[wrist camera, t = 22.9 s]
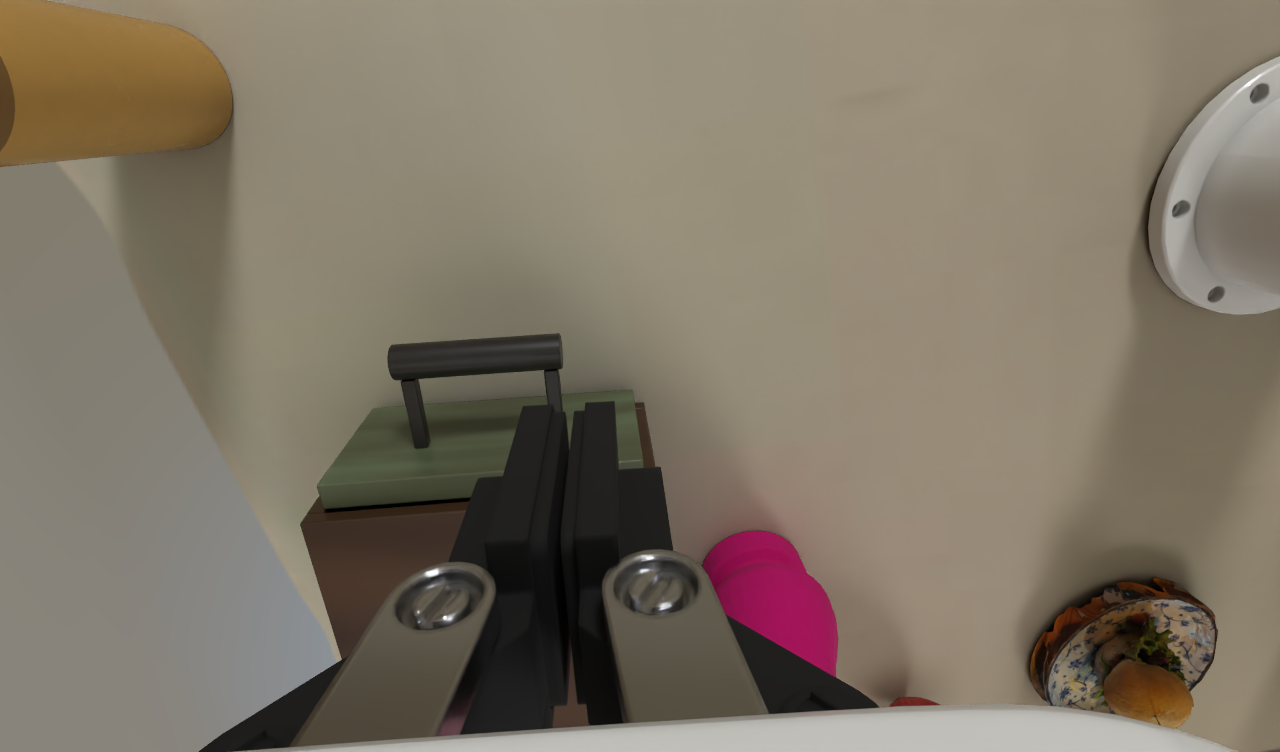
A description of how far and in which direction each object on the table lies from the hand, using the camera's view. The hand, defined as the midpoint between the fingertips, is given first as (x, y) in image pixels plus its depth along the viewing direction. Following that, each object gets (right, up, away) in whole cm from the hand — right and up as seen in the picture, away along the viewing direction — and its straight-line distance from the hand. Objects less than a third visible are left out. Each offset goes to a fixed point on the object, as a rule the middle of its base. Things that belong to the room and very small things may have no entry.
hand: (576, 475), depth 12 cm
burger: (+34, -17, +32) cm, 49 cm away
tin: (-19, +14, +15) cm, 28 cm away
